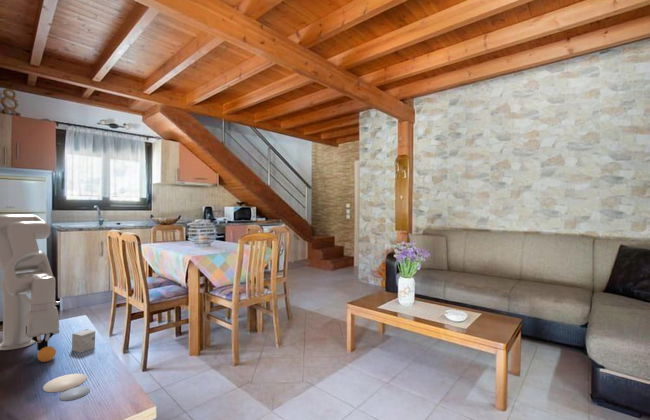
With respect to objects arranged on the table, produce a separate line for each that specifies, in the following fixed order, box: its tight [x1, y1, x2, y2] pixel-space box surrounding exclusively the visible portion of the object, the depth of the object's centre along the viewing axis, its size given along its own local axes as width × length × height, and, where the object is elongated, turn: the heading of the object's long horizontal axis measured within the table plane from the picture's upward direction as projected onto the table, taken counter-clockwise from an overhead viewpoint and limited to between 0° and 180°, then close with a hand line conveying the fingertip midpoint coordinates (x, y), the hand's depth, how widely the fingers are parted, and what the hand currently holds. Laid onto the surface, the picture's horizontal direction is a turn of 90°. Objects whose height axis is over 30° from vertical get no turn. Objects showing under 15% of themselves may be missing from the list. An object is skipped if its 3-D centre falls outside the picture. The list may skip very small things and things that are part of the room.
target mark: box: [42, 373, 88, 393], centre depth 113 cm, size 12×12×1 cm
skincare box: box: [71, 328, 96, 353], centre depth 140 cm, size 6×6×7 cm
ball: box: [37, 346, 57, 363], centre depth 128 cm, size 6×6×6 cm
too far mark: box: [59, 386, 91, 402], centre depth 107 cm, size 8×8×1 cm
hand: (42, 350), depth 133 cm, fingers closed
